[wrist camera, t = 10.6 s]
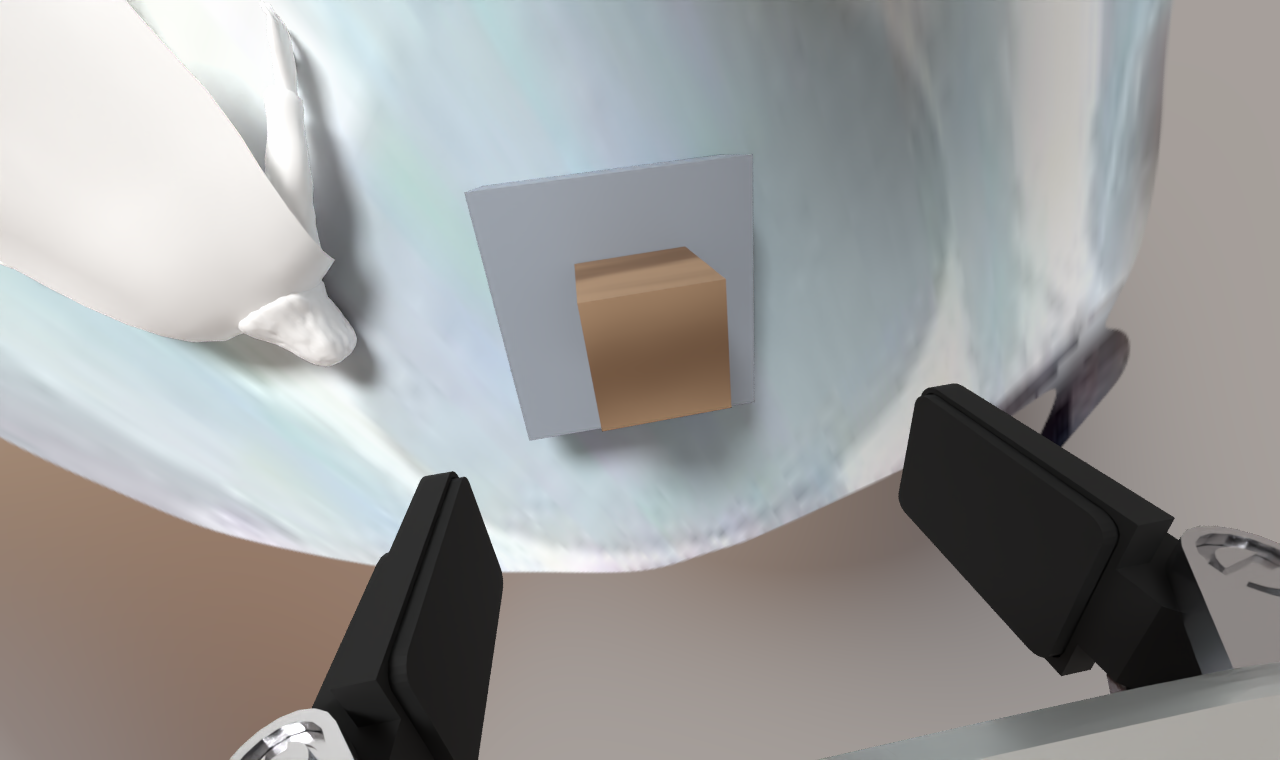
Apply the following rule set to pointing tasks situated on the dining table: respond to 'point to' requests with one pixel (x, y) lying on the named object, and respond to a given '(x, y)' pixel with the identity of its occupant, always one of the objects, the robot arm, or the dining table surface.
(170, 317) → the figurine
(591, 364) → the walnut block
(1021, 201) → the dining table surface
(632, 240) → the plinth
